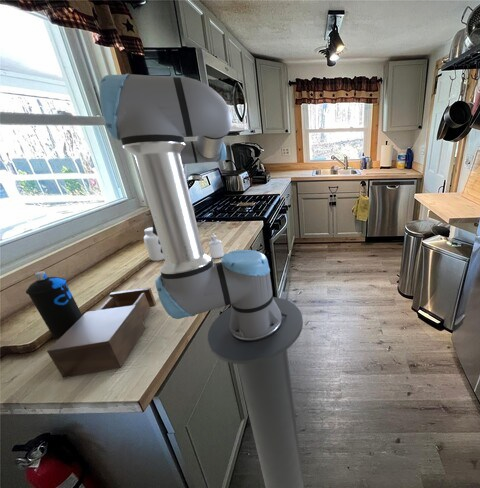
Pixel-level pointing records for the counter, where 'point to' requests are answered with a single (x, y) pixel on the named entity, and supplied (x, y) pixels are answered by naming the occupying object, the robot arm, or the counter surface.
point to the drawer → (131, 300)
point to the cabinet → (98, 341)
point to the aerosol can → (54, 303)
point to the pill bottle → (152, 245)
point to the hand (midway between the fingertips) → (172, 252)
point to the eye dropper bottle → (215, 247)
